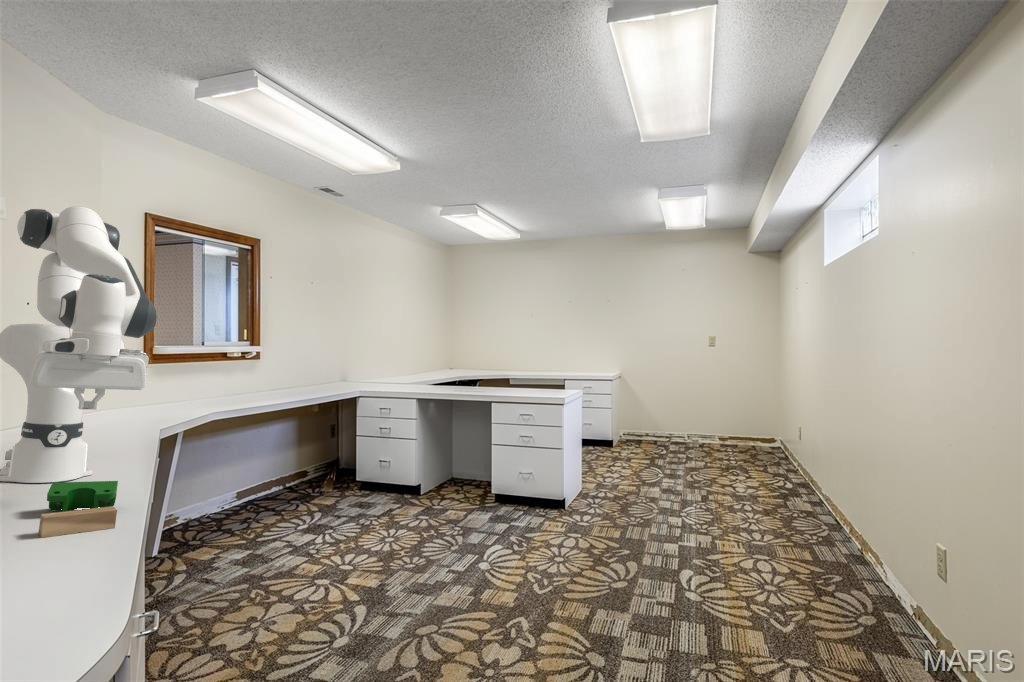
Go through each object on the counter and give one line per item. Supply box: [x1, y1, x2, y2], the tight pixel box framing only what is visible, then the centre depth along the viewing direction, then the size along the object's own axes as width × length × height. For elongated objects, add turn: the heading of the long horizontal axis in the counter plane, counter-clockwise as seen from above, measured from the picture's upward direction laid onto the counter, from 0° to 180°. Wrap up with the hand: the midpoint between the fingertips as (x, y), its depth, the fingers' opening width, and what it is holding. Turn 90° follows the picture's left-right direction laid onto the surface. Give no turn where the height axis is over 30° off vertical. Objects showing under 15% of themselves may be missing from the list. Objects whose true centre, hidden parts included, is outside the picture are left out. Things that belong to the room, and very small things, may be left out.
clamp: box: [46, 480, 119, 512], centre depth 113 cm, size 12×6×9 cm, turn 116°
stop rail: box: [38, 506, 118, 539], centre depth 102 cm, size 3×11×4 cm, turn 140°
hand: (87, 409), depth 118 cm, fingers closed
